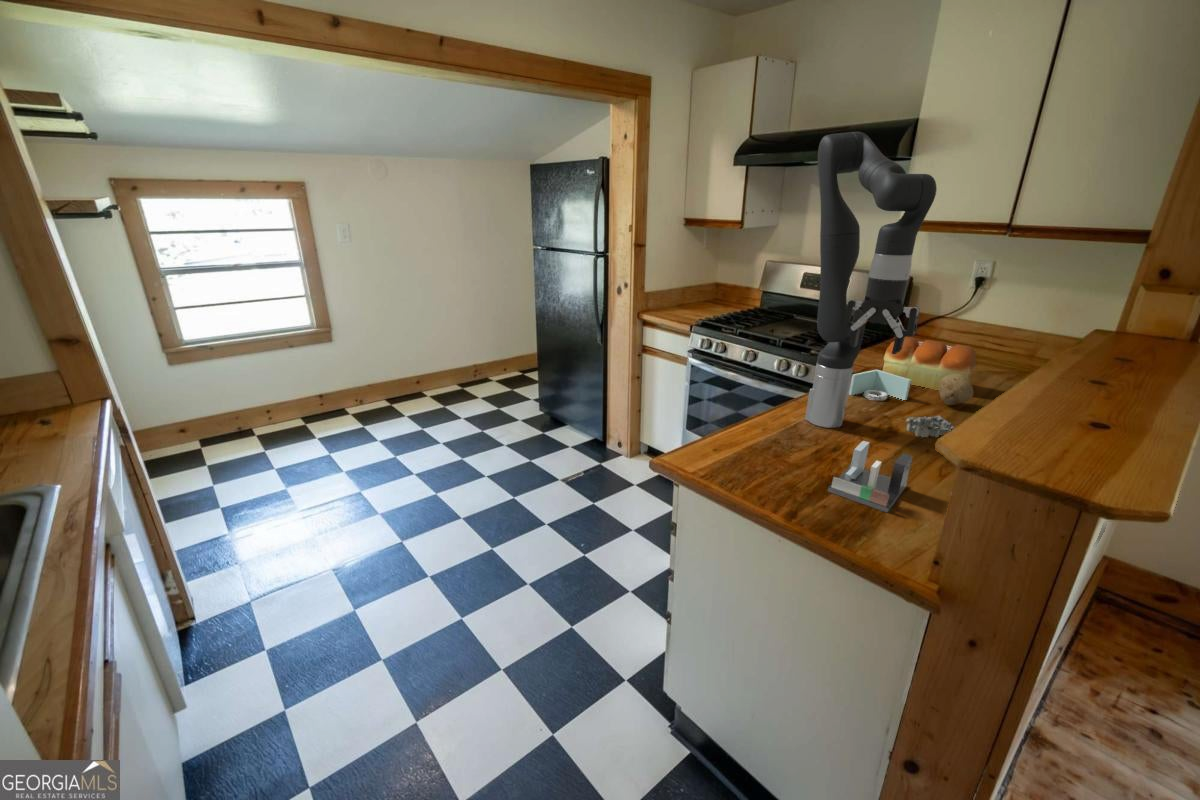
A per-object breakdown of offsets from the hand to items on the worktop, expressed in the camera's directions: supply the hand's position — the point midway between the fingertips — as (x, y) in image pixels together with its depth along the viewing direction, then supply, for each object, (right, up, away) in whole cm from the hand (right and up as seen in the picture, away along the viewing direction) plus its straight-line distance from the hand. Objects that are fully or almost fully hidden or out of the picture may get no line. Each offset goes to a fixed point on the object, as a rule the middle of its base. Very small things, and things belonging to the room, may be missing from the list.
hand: (873, 349), depth 116 cm
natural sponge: (+48, -13, +45) cm, 67 cm away
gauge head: (-5, -29, 0) cm, 29 cm away
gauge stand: (-2, -31, -2) cm, 31 cm away
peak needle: (-4, -31, -6) cm, 32 cm away
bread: (+52, -6, +65) cm, 83 cm away
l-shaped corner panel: (+28, -11, +51) cm, 60 cm away
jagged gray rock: (+29, -20, +27) cm, 44 cm away
